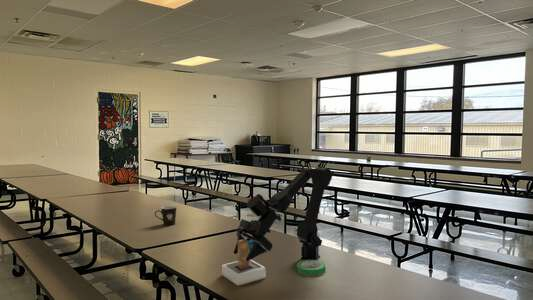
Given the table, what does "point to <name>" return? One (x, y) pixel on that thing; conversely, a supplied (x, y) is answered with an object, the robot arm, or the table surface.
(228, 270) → the bore box
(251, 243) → the blue figurine
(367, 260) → the table surface
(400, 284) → the table surface
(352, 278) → the table surface
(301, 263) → the tape roll
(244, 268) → the peg
